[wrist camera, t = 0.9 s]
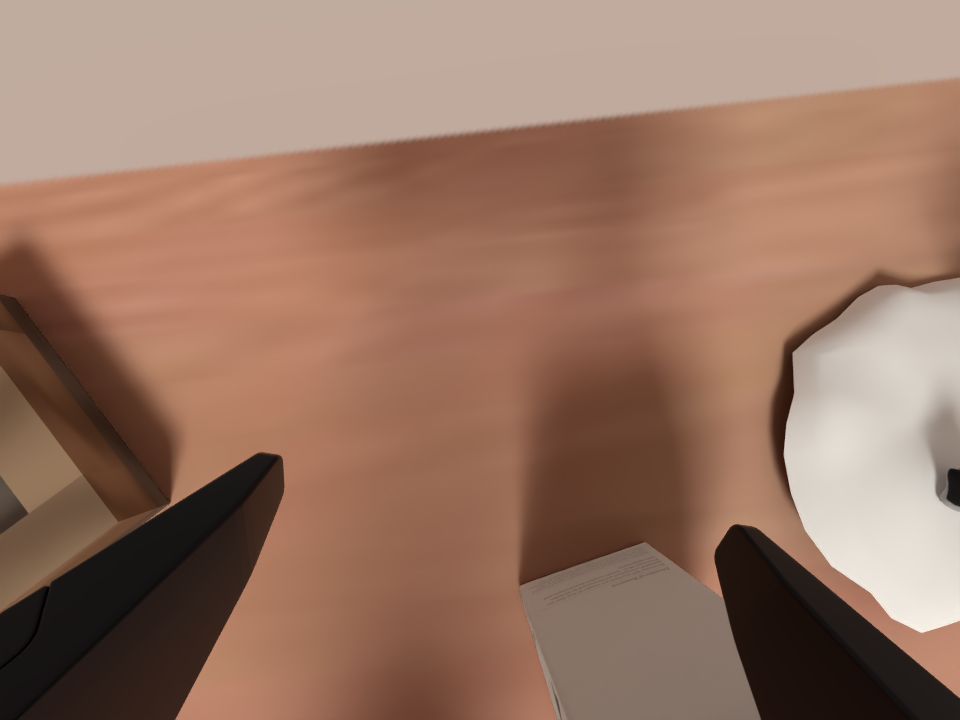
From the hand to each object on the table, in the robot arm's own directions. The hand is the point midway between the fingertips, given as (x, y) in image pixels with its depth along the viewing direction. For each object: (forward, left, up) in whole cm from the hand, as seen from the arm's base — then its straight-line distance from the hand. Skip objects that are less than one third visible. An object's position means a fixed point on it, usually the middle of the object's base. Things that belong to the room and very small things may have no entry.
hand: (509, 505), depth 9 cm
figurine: (0, -26, -15) cm, 30 cm away
